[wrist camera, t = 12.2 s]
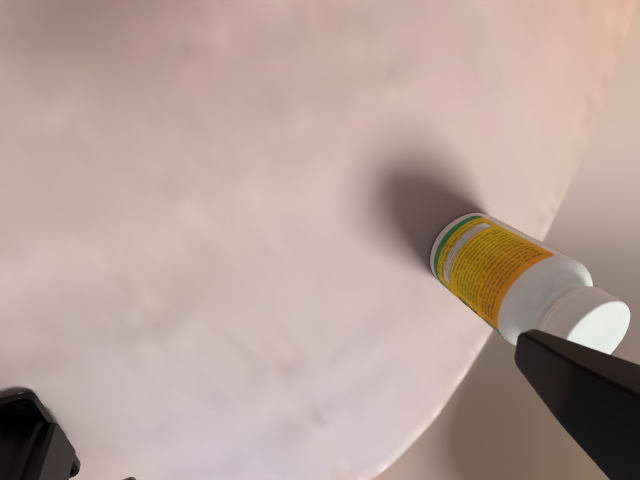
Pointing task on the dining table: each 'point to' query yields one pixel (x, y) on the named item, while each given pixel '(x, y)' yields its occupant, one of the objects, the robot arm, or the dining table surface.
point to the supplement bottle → (525, 284)
